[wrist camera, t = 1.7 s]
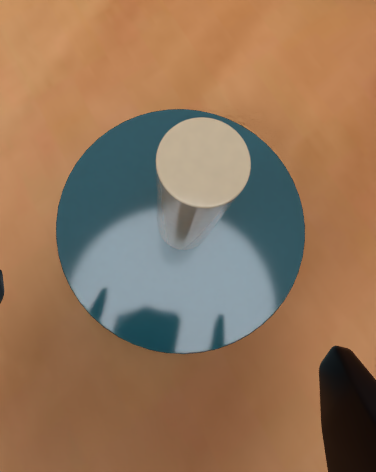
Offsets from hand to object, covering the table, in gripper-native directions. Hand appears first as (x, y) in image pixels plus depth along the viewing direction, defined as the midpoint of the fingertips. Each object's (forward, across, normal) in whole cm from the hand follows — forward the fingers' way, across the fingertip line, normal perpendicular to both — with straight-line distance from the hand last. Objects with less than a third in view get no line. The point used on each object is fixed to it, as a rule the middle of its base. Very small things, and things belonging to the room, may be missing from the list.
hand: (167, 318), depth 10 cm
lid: (+10, 0, +4) cm, 11 cm away
